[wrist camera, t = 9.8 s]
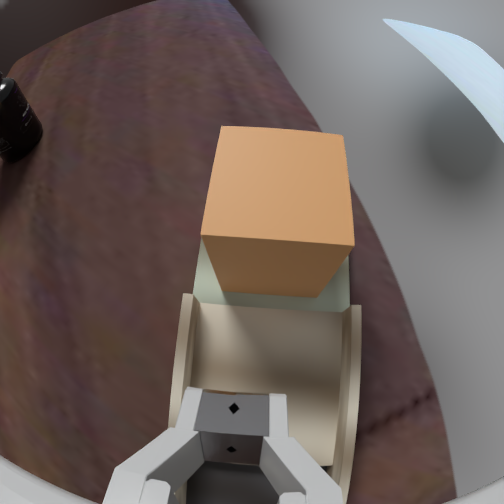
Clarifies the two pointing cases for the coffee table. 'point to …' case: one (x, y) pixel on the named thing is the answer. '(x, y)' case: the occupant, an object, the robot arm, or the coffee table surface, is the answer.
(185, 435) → the robot arm
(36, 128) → the supplement bottle
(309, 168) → the orange block
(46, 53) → the coffee table surface
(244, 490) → the chute
